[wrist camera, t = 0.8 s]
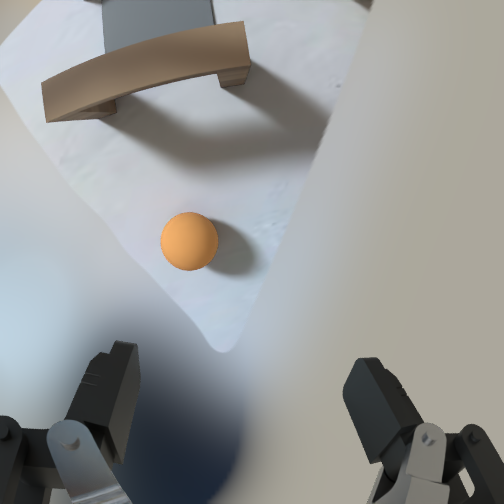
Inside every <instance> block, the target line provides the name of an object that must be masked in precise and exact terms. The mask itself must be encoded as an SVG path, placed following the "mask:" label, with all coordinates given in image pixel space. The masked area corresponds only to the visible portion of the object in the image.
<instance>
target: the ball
mask: <svg viewBox="0 0 504 504" xmlns="http://www.w3.org/2000/svg"><path fill="white" fill-rule="evenodd" d="M217 248H218V235H217V231H216V229H215V227H214V225H213V224H212V223H211V221H210V220H208V219H207V218H206V217H204V216H203V215H200V214H197V213H192V212H187V213H182V214H179V215H177V216H175V217H173V218H172V219H171V220H170V221H169V222H168V223H167V224H166V225H165V227H164V229H163V231H162V235H161V249H162V252H163V254H164V256H165V258H166V259H167V260H168V262H170V263H171V264H172V265H173V266H175V267H176V268H179V269H181V270H187V271H192V270H197V269H200V268H202V267H204V266H206V265H207V264H208V263H209V262H210V261H211V260H212V259H213V257H214V256H215V254H216V251H217Z"/></svg>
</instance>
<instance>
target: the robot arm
mask: <svg viewBox="0 0 504 504" xmlns="http://www.w3.org/2000/svg"><path fill="white" fill-rule="evenodd" d="M139 389H140V366H139V355H138V346H137V344H134V343H128V342H123V341H115V342H114V345H113V347H112V349H111V351H110V354H107V353H102V352H100V353H99V354H98V355H97V356H96V357H94V358H93V359H92V360H91V361H90V363H89V365H88V367H87V369H86V372H85V374H84V376H83V378H82V380H81V383H80V385H79V387H78V390H77V392H76V394H75V396H74V398H73V401H72V403H71V406H70V408H69V410H68V413H67V415H66V417H65V419H64V420H62V421H59V422H57V423H55V424H54V425H52V427H51V428H50V429H28V428H21V427H20V425H19V424H18V422H17V421H16V420H14V419H13V418H11V417H9V416H0V504H49V502H50V496H51V491H52V488H58V489H66V490H67V492H68V494H69V496H70V498H71V501H72V503H73V504H132V502H131V501H130V499H129V498H128V497H127V495H126V494H125V492H124V491H123V490H122V488H121V487H120V485H119V484H118V482H117V480H116V479H115V477H114V475H113V474H112V472H111V471H112V466H113V463H118V464H123V460H124V455H125V450H126V445H127V440H128V436H129V431H130V427H131V423H132V418H133V414H134V409H135V405H136V401H137V397H138V393H139ZM343 399H344V402H345V404H346V407H347V409H348V411H349V414H350V416H351V419H352V421H353V423H354V426H355V428H356V430H357V433H358V436H359V438H360V440H361V443H362V445H363V448H364V450H365V452H366V455H367V458H368V460H369V463H370V464H373V463H377V462H382V464H383V466H382V467H381V468H380V470H379V473H378V476H377V478H376V481H375V484H374V486H373V489H372V491H371V494H370V496H369V499H368V501H367V504H504V463H503V462H502V460H501V458H500V456H499V454H498V453H497V451H496V449H495V448H494V446H493V444H492V443H491V441H490V439H489V437H488V436H487V434H486V433H485V431H484V430H483V429H482V428H481V427H479V426H477V425H475V424H468V425H466V426H465V427H464V428H463V429H462V430H461V431H460V433H453V434H452V433H451V434H449V433H444V432H443V430H442V429H441V428H440V427H438V426H437V425H435V424H431V423H424V421H423V420H422V418H421V416H420V414H419V413H418V412H417V410H416V408H415V406H414V405H413V403H412V401H411V400H410V398H409V397H408V396H407V393H406V392H405V390H404V388H402V385H401V384H400V382H399V380H398V379H397V377H396V376H395V375H393V374H392V373H391V372H390V371H389V370H387V369H385V368H384V367H383V365H382V363H381V362H380V360H379V359H378V358H376V357H372V358H358V359H357V360H356V362H355V364H354V366H353V368H352V370H351V372H350V374H349V376H348V378H347V380H346V383H345V384H344V387H343ZM464 468H466V470H467V472H468V474H469V476H470V478H471V480H472V482H473V484H474V487H475V491H474V494H473V495H472V496H471V497H469V496H468V494H467V492H466V489H465V487H464V485H463V483H462V481H461V479H460V476H459V474H458V473H459V472H460V471H461V470H463V469H464Z"/></svg>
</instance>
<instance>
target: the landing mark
mask: <svg viewBox="0 0 504 504" xmlns="http://www.w3.org/2000/svg"><path fill="white" fill-rule="evenodd" d="M102 19H103V34H104V46H105V54H106V53H109V52H112V51H115V50H117V49H120V48H123V47H126V46H129V45H132V44H136V43H139V42H142V41H146V40H149V39H153V38H156V37H160V36H164V35H168V34H172V33H176V32H181V31H185V30H190V29H195V28H200V27H205V26H211V25H214V23H213V16H212V10H211V4H210V0H102Z"/></svg>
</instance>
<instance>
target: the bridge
mask: <svg viewBox="0 0 504 504" xmlns="http://www.w3.org/2000/svg"><path fill="white" fill-rule="evenodd" d="M250 66H251V62H250V56H249V50H248V44H247V38H246V33H245V27H244V21H240V22H231V23H224V24H217V25H211V26H205V27H200V28H195V29H190V30H185V31H181V32H176V33H172V34H168V35H164V36H160V37H156V38H153V39H149V40H146V41H142V42H139V43H136V44H132V45H129V46H126V47H123V48H120V49H117V50H115V51H112V52H109V53H106V54H104V55H101V56H98V57H96V58H93V59H91V60H88V61H86V62H84V63H81V64H79V65H77V66H75V67H72V68H70V69H68V70H66V71H64V72H62V73H59V74H57V75H55V76H53V77H51V78H49V79H47V80H46V81H44V82H42V83H41V85H42V95H43V103H44V111H45V118H46V123H49V122H59V121H72V120H88V119H99V118H102V117H105V116H108V115H111V114H114V113H117V112H116V106H115V99H116V98H119V97H122V96H125V95H128V94H132V93H135V92H138V91H142V90H145V89H149V88H153V87H156V86H160V85H164V84H168V83H172V82H177V81H181V80H186V79H190V78H195V77H200V76H206V75H211V74H217V76H218V79H219V83H220V87H221V88H222V87H228V86H234V85H241V84H244V83H245V80H246V78H247V75H248V72H249V69H250Z"/></svg>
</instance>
